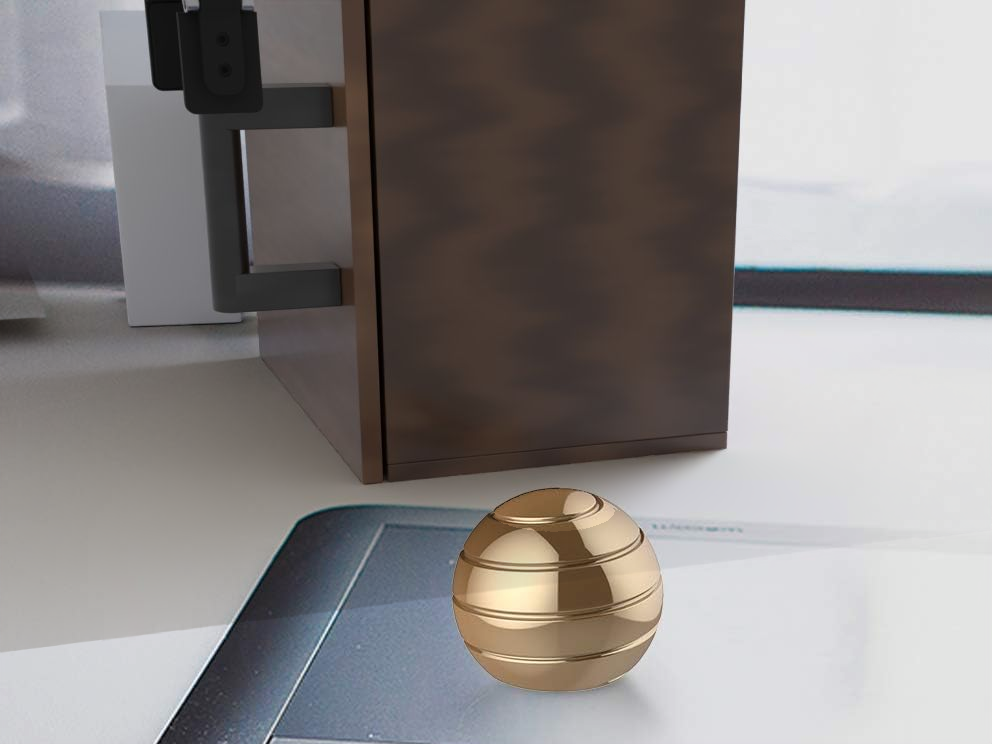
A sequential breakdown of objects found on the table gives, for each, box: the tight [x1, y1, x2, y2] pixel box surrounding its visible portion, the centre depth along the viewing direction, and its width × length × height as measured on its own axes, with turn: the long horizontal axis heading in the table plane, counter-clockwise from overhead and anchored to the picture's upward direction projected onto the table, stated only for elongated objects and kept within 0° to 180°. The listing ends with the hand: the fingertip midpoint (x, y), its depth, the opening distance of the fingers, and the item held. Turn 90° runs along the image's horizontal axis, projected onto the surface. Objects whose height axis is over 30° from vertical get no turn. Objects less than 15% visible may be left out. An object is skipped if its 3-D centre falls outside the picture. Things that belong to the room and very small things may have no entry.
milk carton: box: [98, 9, 243, 327], centre depth 112 cm, size 7×7×19 cm
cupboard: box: [364, 0, 747, 483], centre depth 94 cm, size 18×26×24 cm
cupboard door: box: [198, 0, 384, 485], centre depth 90 cm, size 7×26×24 cm, turn 22°
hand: (205, 100), depth 78 cm, fingers open, 9 cm apart
